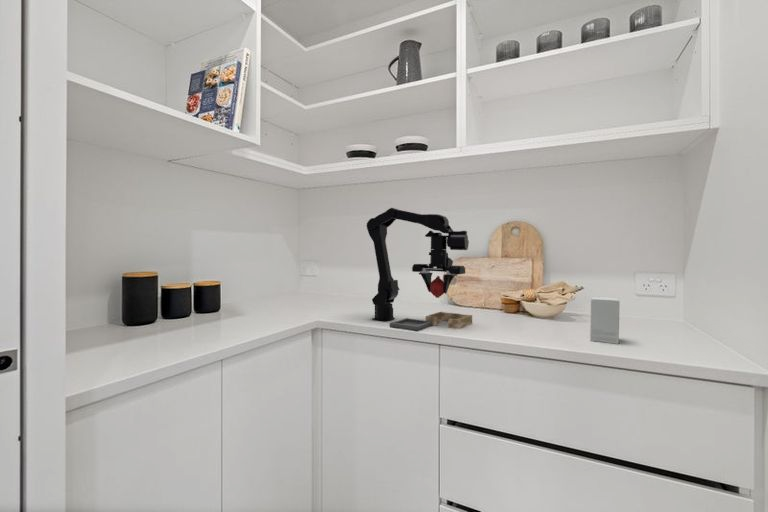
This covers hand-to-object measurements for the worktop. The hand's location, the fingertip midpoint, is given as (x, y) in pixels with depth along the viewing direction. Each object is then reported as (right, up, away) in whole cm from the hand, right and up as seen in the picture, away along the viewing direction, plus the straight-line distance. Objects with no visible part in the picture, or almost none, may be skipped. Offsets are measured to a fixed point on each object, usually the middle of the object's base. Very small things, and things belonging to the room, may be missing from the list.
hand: (437, 292), depth 132 cm
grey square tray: (-10, -12, -3) cm, 16 cm away
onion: (0, -2, 0) cm, 2 cm away
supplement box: (+47, -12, -22) cm, 54 cm away
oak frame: (+5, -12, +1) cm, 12 cm away
